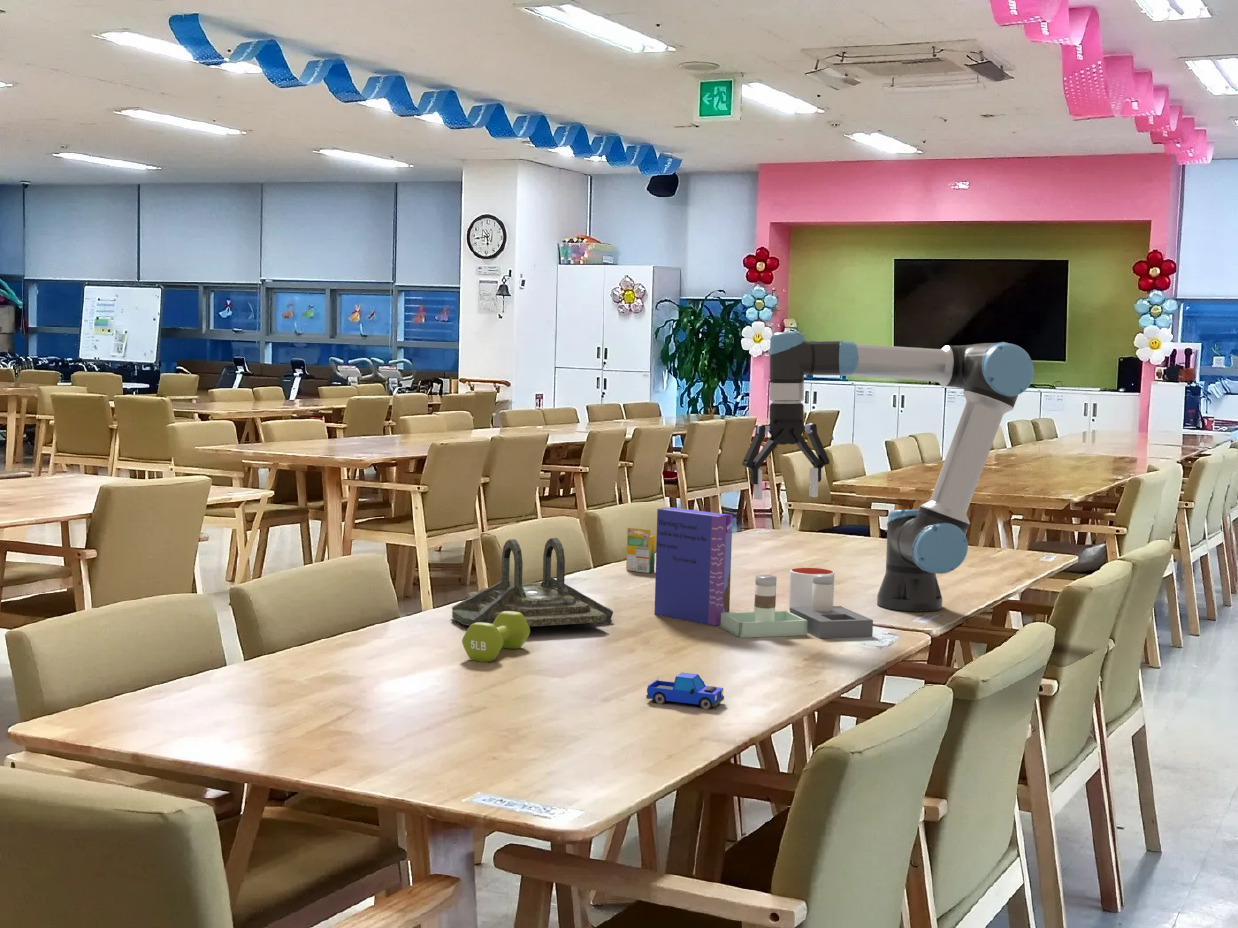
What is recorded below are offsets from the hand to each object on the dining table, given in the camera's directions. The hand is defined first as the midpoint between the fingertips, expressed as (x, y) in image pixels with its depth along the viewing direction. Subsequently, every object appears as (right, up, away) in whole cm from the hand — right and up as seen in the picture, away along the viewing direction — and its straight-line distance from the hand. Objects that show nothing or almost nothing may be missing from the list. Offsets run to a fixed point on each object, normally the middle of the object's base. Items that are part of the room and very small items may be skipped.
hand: (785, 498), depth 307 cm
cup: (+6, -27, +7) cm, 28 cm away
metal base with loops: (-56, -27, -8) cm, 63 cm away
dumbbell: (-61, -29, -42) cm, 79 cm away
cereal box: (-21, -27, -2) cm, 34 cm away
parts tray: (-7, -28, -14) cm, 32 cm away
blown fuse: (-6, -27, -14) cm, 31 cm away
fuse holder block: (+8, -28, -10) cm, 31 cm away
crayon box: (-31, -21, +62) cm, 73 cm away
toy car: (-26, -33, -75) cm, 86 cm away
